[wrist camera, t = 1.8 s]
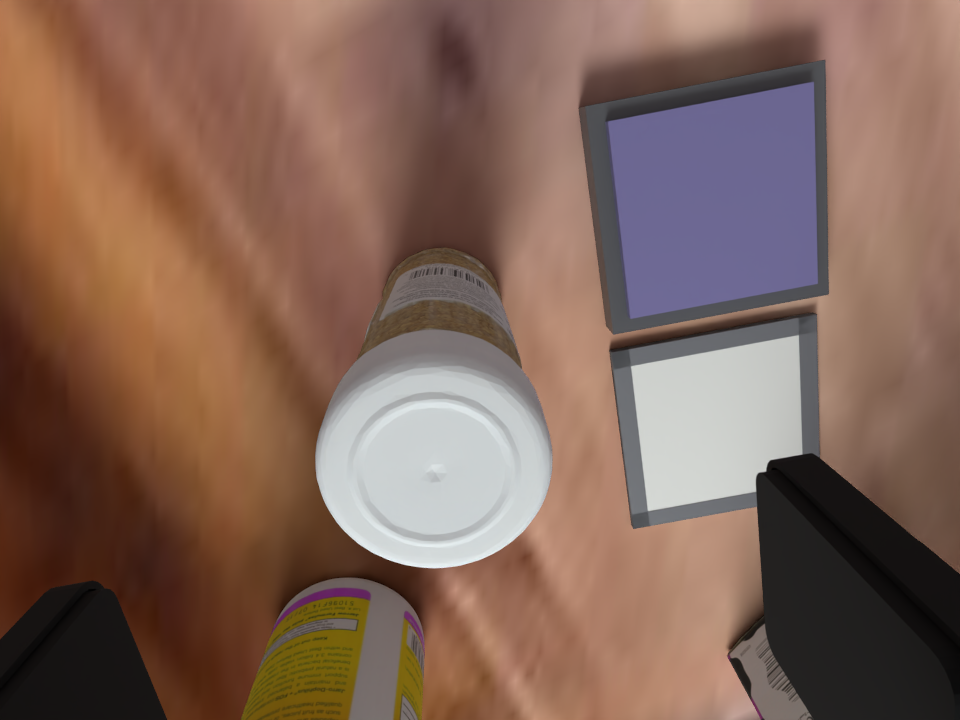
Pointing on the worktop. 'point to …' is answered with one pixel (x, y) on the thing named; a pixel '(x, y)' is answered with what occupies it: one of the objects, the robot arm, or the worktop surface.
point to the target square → (714, 415)
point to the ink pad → (710, 197)
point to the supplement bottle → (342, 657)
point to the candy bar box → (765, 678)
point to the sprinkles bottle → (435, 422)
